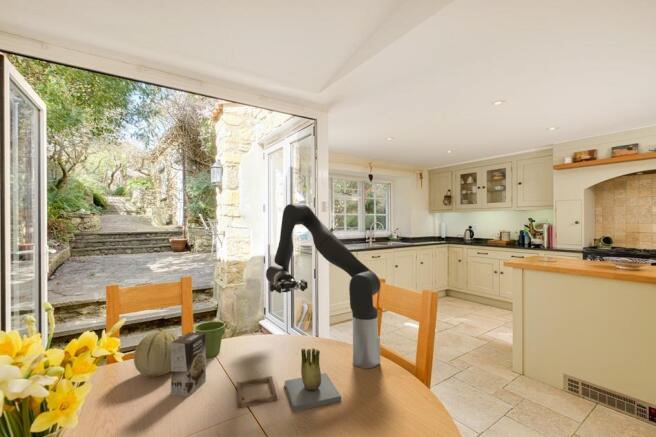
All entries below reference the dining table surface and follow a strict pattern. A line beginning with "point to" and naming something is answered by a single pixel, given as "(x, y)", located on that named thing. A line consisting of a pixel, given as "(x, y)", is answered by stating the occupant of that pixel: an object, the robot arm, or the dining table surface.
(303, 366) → the fennel bulb
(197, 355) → the coffee box
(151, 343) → the cantaloupe
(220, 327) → the plant pot
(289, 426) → the dining table surface
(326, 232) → the robot arm
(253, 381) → the walnut collar
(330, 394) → the slate board
